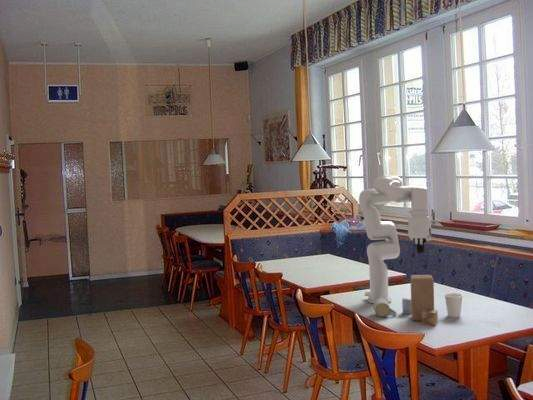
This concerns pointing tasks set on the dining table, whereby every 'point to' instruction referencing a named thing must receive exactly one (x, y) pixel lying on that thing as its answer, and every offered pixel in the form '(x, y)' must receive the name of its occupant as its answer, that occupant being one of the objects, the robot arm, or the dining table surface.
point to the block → (421, 295)
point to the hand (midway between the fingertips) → (420, 252)
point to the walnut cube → (429, 317)
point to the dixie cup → (453, 304)
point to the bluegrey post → (406, 305)
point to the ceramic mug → (382, 308)
